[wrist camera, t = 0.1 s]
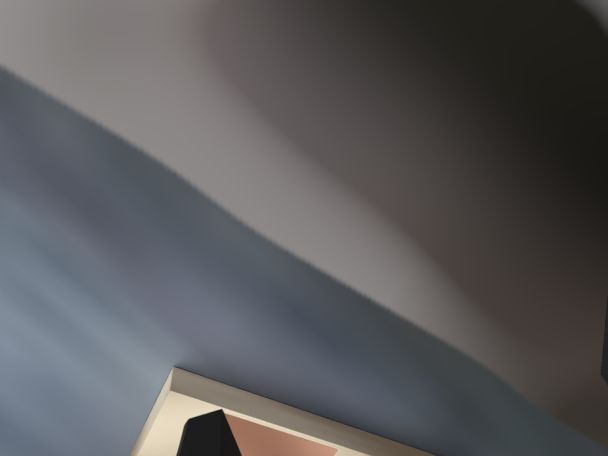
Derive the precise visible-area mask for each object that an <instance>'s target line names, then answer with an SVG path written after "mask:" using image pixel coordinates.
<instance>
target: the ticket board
mask: <svg viewBox="0 0 608 456" xmlns="http://www.w3.org/2000/svg"><path fill="white" fill-rule="evenodd" d="M219 409H223V411H224V414H225V416H226V419H227V421H228V423H229V426H230V428H231V430H232V433H233V435H234V438H235V440H236V442H237V445H238V447H239V449H240V452H241V454H242V456H437V455H434V454H431V453H428V452H425V451H422V450H419V449H416V448H413V447H410V446H407V445H404V444H401V443H398V442H395V441H392V440H389V439H386V438H383V437H380V436H377V435H375V434H372V433H369V432H366V431H363V430H360V429H357V428H354V427H351V426H348V425H345V424H342V423H339V422H336V421H333V420H330V419H327V418H324V417H321V416H318V415H315V414H312V413H309V412H306V411H303V410H300V409H297V408H294V407H291V406H289V405H286V404H283V403H280V402H277V401H274V400H271V399H268V398H265V397H262V396H259V395H256V394H253V393H250V392H247V391H244V390H241V389H238V388H235V387H232V386H229V385H226V384H223V383H220V382H217V381H214V380H211V379H208V378H205V377H203V376H200V375H197V374H194V373H191V372H188V371H185V370H182V369H179V368H176V367H173V368H172V370H171V372H170V374H169V376H168V378H167V380H166V383H165V385H164V387H163V389H162V391H161V393H160V395H159V397H158V399H157V401H156V403H155V405H154V407H153V409H152V411H151V413H150V415H149V417H148V419H147V421H146V423H145V425H144V427H143V429H142V431H141V433H140V435H139V437H138V439H137V441H136V443H135V445H134V447H133V449H132V451H131V454H130V456H176V454H177V451H178V447H179V443H180V440H181V436H182V432H183V428H184V425H185V423H186V422H187V420H188V419H189V418H192V417H196V416H199V415H202V414H206V413H209V412H213V411H216V410H219Z"/></svg>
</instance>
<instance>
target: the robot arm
mask: <svg viewBox="0 0 608 456" xmlns="http://www.w3.org/2000/svg"><path fill="white" fill-rule="evenodd" d="M602 356H603V357H602V367H601V375H602V377H603V378H604V380H605V381H606V383H607V384H608V299H607V310H606V321H605V333H604V344H603V355H602ZM176 456H242V454H241V452H240V449H239V447H238V445H237V442H236V440H235V438H234V435H233V433H232V430H231V428H230V426H229V423H228V421H227V419H226V416H225V414H224V411H223V409H219V410H216V411H213V412H209V413H206V414H202V415H199V416H196V417H192V418H189V419H188V420H187V422H186V423H185V425H184V428H183V432H182V436H181V440H180V443H179V447H178V451H177V454H176Z"/></svg>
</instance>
